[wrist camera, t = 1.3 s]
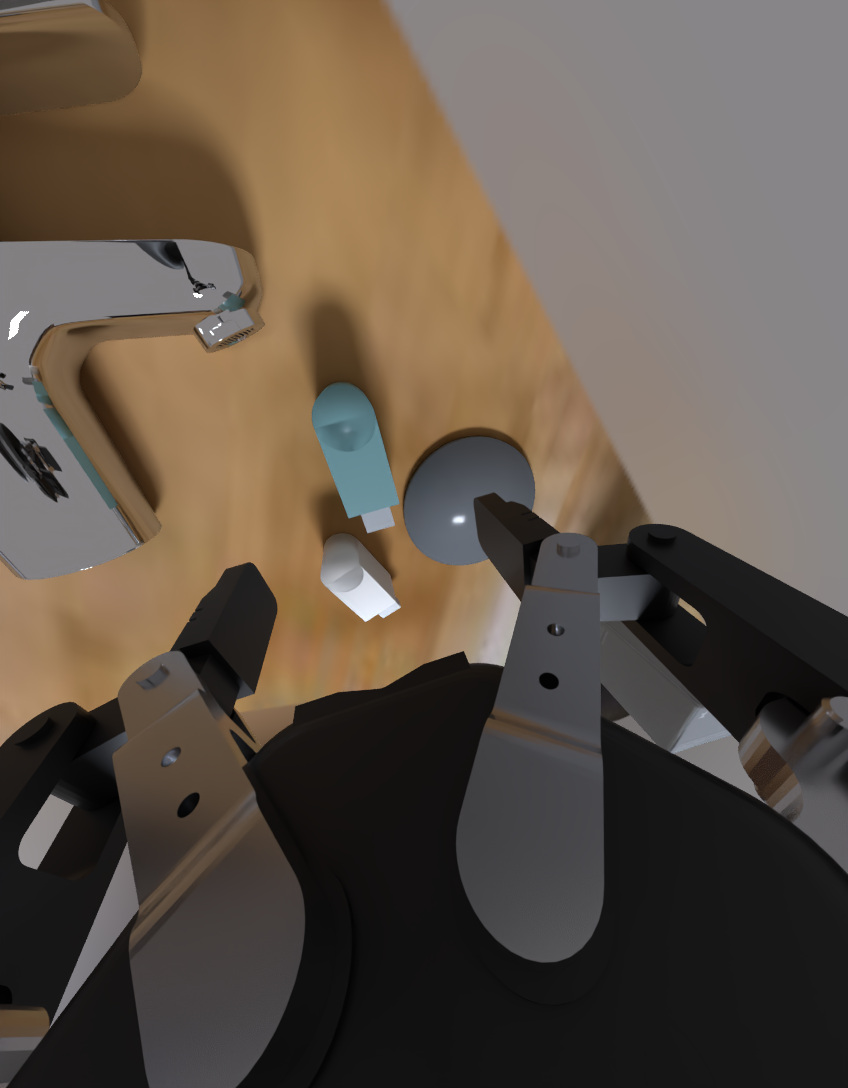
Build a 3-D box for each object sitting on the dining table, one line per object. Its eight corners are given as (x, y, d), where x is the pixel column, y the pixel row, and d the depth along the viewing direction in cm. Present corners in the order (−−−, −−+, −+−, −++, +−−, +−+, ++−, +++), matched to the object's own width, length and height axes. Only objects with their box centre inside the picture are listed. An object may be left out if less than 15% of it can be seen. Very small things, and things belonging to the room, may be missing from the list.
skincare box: (548, 625, 39) (656, 763, 25) (564, 579, 35) (699, 711, 22) (606, 618, 40) (735, 743, 27) (627, 573, 37) (786, 691, 24)
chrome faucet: (-25, 592, 16) (-937, -250, 6) (67, 532, 22) (-299, 63, 12) (322, 523, 20) (151, -72, 9) (321, 487, 25) (216, 98, 15)
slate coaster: (387, 458, 24) (387, 460, 24) (530, 419, 25) (534, 420, 25) (419, 576, 30) (420, 580, 30) (532, 541, 31) (535, 544, 31)
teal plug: (309, 388, 21) (301, 394, 17) (361, 375, 21) (365, 378, 17) (357, 520, 26) (359, 547, 22) (398, 508, 26) (407, 533, 23)
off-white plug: (315, 547, 26) (311, 573, 23) (345, 526, 26) (345, 550, 23) (375, 604, 31) (379, 634, 28) (401, 587, 31) (409, 615, 27)
